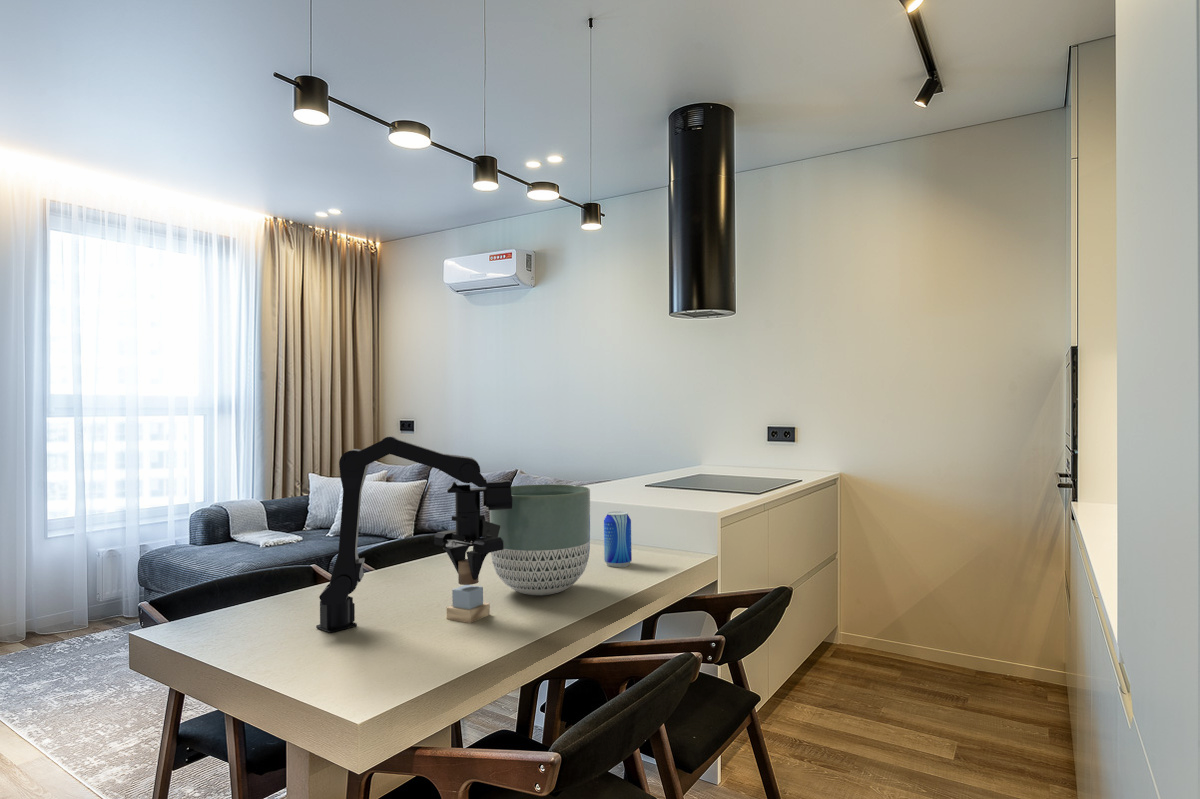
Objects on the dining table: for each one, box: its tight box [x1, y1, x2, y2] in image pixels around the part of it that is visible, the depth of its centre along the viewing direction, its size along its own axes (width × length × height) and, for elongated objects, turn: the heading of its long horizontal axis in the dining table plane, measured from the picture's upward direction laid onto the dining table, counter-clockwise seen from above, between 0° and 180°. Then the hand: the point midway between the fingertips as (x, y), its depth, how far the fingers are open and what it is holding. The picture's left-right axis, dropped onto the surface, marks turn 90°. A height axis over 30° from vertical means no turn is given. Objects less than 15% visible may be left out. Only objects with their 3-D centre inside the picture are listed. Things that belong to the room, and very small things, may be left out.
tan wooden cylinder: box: [457, 558, 479, 586], centre depth 160 cm, size 5×5×5 cm
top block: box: [451, 584, 484, 610], centre depth 160 cm, size 5×5×4 cm
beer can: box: [603, 510, 633, 568], centre depth 211 cm, size 8×8×16 cm
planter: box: [489, 483, 591, 596], centre depth 181 cm, size 27×27×27 cm
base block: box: [446, 602, 491, 624], centre depth 160 cm, size 7×7×3 cm
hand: (468, 578), depth 159 cm, fingers closed on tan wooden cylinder, 4 cm apart
